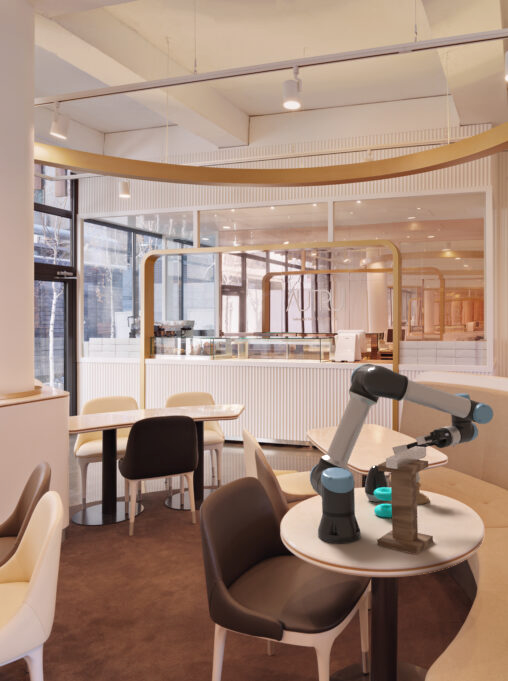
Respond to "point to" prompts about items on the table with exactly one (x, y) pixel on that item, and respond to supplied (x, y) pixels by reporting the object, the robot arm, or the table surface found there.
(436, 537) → the table surface
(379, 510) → the donuts
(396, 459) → the grey block
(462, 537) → the table surface
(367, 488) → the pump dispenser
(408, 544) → the stand
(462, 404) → the robot arm
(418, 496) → the candle holder
